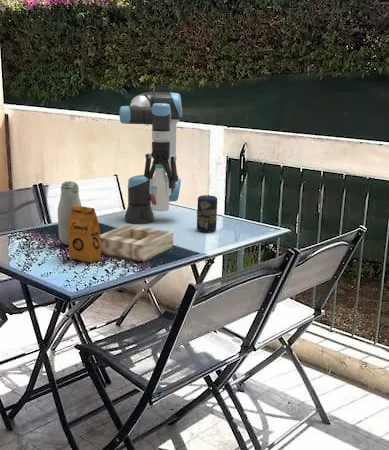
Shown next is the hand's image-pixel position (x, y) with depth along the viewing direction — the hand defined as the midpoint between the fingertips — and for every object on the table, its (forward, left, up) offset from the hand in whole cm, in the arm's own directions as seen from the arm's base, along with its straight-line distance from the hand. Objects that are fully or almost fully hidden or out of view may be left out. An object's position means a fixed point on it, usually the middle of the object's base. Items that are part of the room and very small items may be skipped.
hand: (160, 194), depth 243 cm
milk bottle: (0, 0, -7) cm, 7 cm away
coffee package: (-16, -31, -24) cm, 42 cm away
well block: (-6, -10, -23) cm, 26 cm away
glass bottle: (-34, -18, -24) cm, 45 cm away
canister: (+6, +35, -24) cm, 43 cm away
